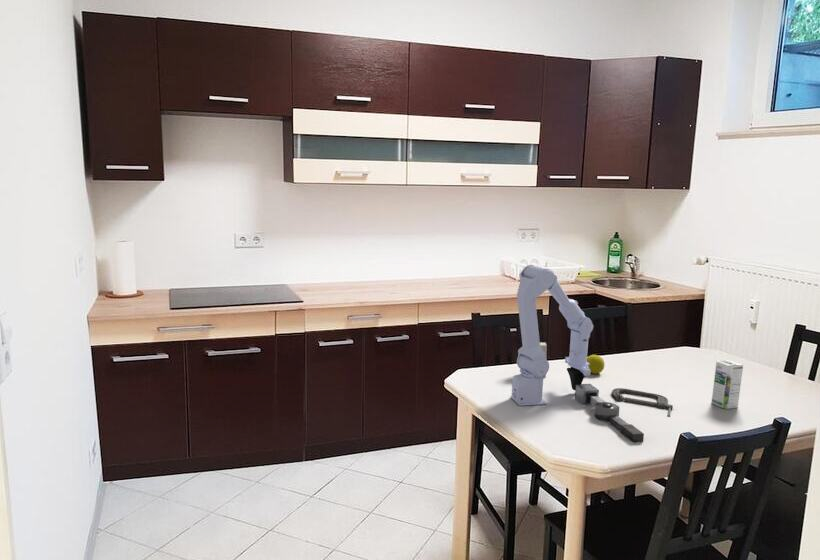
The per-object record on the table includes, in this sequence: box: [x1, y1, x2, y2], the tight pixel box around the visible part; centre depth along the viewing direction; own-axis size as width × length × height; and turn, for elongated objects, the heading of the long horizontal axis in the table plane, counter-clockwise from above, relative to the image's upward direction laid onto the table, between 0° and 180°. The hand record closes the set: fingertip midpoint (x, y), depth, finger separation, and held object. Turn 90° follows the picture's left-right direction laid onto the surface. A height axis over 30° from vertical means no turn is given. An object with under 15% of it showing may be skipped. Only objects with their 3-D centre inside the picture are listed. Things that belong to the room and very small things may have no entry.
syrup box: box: [710, 359, 744, 410], centre depth 190 cm, size 6×6×14 cm
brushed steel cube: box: [574, 383, 600, 406], centre depth 192 cm, size 6×5×5 cm
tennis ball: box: [587, 354, 605, 375], centre depth 221 cm, size 7×7×7 cm
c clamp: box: [611, 387, 674, 418], centre depth 193 cm, size 20×17×3 cm
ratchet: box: [590, 395, 645, 443], centre depth 175 cm, size 25×7×4 cm, turn 11°
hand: (575, 389), depth 199 cm, fingers closed
